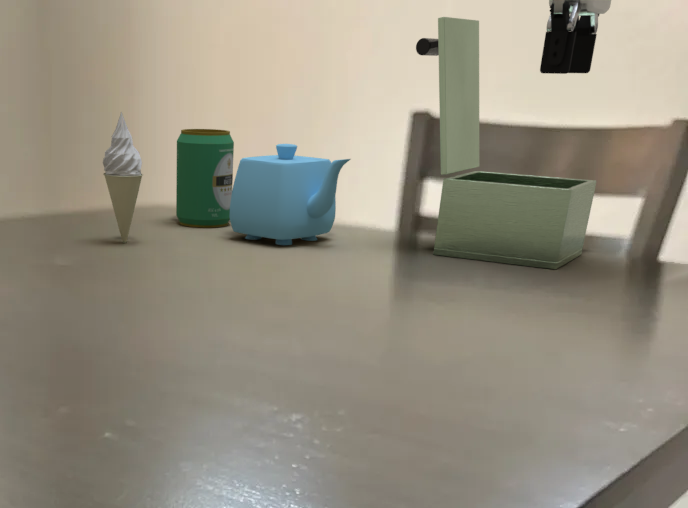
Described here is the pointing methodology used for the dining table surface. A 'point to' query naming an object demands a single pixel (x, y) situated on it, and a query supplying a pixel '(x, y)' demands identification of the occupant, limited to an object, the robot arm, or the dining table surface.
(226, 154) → the beverage can
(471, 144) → the lid
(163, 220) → the dining table surface
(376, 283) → the dining table surface
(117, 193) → the ice cream cone
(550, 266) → the green open box
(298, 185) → the teapot
